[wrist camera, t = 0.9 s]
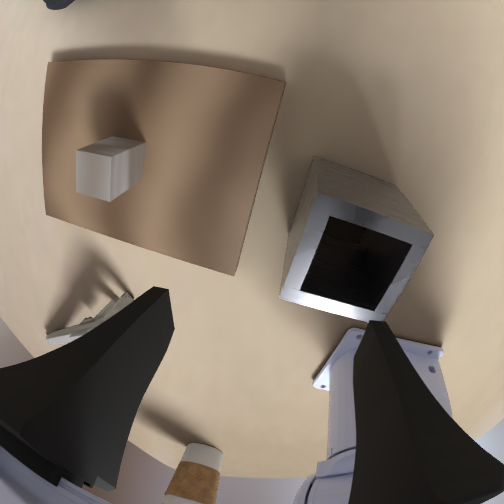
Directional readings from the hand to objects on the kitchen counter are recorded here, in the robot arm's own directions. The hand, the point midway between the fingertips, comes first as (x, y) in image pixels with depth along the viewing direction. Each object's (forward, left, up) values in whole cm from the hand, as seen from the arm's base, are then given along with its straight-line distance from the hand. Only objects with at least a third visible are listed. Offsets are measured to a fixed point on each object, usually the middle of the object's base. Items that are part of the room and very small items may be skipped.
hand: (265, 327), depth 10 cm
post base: (+10, -2, -9) cm, 14 cm away
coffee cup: (0, +41, -9) cm, 42 cm away
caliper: (+17, +17, -9) cm, 26 cm away
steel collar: (-3, -2, -9) cm, 9 cm away
